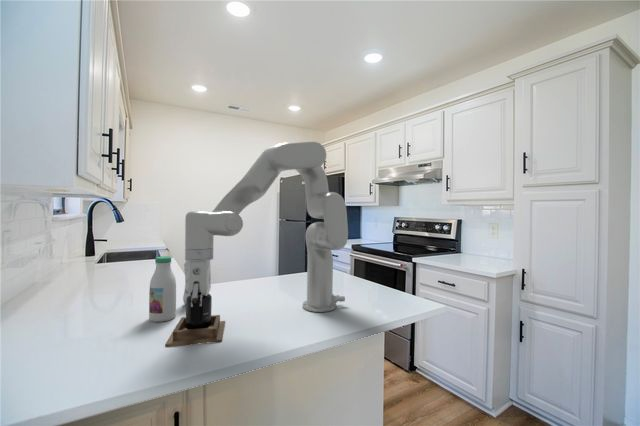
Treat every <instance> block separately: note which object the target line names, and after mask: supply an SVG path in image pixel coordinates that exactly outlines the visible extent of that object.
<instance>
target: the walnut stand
mask: <svg viewBox="0 0 640 426" xmlns="http://www.w3.org/2000/svg"><path fill="white" fill-rule="evenodd" d="M225 327H226V320H221V315H220V314H213V315H212V314H211V325H210V327H209V328H202V329H189V330H188V329H187V328H186V316H183V317H181V318H180V319H179V321H178V323H177V324H175V327H174V329H173V331H172V332H171V334H170V336H169V337H168V339H167V341H165V342H166V343H164V347H165V348H167V347H168V348H169V347H179V346H180V345H181V346H189V345H190V344H192V345H199V344H198V343H203V344H208V343H207V342H215V343H221V342H222V341H223V337H224V331H225Z"/></svg>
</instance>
